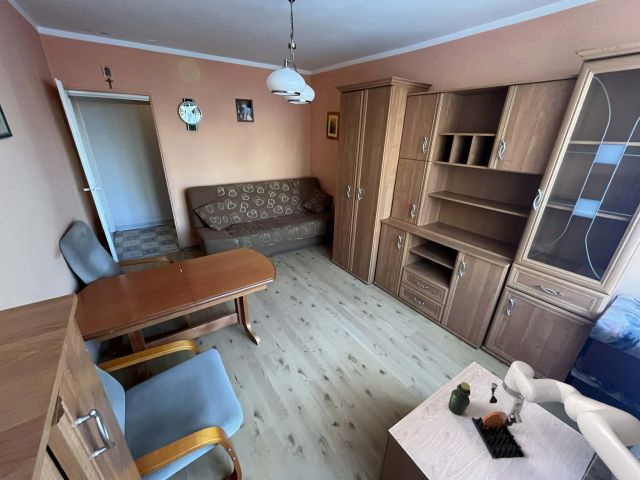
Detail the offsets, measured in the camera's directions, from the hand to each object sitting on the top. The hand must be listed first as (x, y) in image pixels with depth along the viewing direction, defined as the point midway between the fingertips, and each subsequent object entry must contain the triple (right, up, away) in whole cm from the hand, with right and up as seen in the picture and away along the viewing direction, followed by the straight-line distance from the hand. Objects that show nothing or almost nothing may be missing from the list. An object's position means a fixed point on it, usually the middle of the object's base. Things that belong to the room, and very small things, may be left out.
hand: (499, 413), depth 117 cm
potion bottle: (-13, -7, +13) cm, 20 cm away
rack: (0, -13, +2) cm, 13 cm away
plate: (-1, -10, +5) cm, 12 cm away
